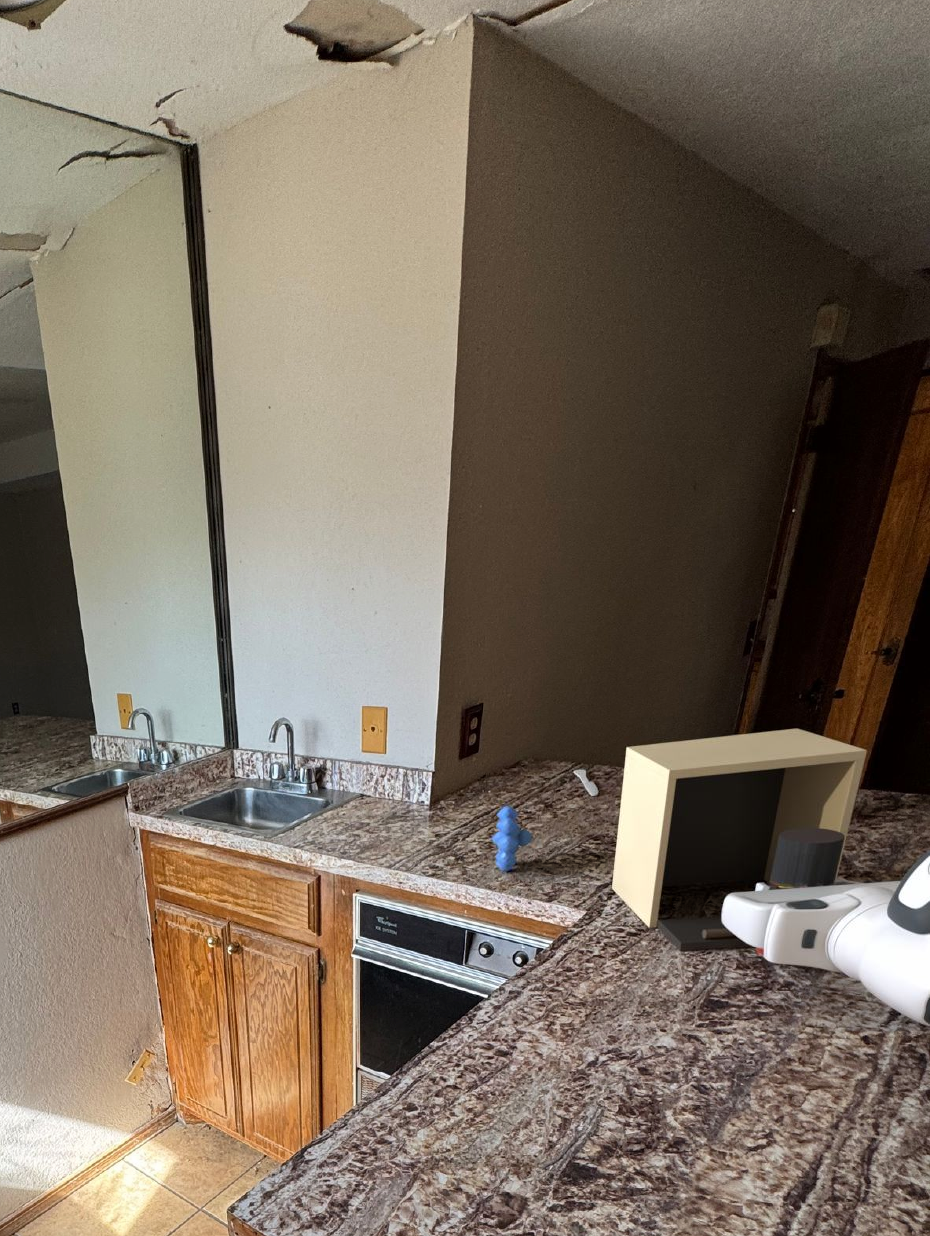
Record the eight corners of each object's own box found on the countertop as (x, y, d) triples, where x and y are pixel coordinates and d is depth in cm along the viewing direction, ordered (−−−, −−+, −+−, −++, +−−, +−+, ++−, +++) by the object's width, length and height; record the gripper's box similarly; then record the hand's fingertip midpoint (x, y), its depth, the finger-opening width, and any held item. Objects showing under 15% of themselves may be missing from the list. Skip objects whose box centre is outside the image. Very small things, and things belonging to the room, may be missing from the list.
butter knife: (586, 769, 188) (573, 770, 189) (601, 794, 168) (586, 795, 169) (586, 770, 188) (572, 771, 189) (601, 796, 168) (586, 797, 169)
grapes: (534, 881, 131) (538, 812, 126) (490, 882, 133) (493, 814, 128) (529, 859, 141) (533, 793, 135) (489, 860, 143) (491, 796, 138)
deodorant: (827, 961, 93) (856, 840, 86) (770, 964, 94) (795, 845, 88) (801, 941, 98) (826, 825, 91) (747, 944, 99) (769, 830, 93)
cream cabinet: (768, 877, 119) (797, 728, 109) (864, 940, 98) (910, 763, 88) (611, 888, 124) (626, 747, 114) (671, 951, 103) (695, 784, 93)
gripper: (995, 894, 77) (904, 852, 89) (763, 910, 82) (705, 868, 94) (976, 952, 80) (890, 903, 92) (752, 964, 84) (698, 916, 97)
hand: (795, 885), depth 93 cm, fingers closed on deodorant, 6 cm apart
